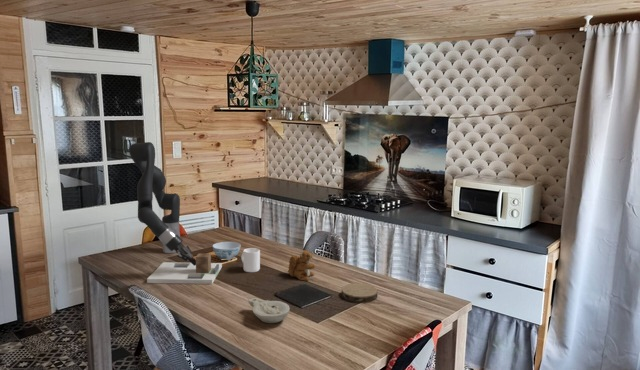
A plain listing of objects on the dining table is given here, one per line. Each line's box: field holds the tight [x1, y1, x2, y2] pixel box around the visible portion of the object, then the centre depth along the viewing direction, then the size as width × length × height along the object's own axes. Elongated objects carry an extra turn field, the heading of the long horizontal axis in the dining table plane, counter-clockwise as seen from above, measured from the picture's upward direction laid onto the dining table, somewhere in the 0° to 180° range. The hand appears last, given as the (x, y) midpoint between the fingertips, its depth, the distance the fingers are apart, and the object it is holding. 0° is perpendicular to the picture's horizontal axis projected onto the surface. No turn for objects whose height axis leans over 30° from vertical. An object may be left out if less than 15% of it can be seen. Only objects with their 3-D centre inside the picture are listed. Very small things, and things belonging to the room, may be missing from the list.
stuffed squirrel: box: [287, 249, 316, 282], centre depth 234 cm, size 10×14×13 cm
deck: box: [146, 261, 223, 285], centre depth 234 cm, size 30×25×4 cm
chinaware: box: [212, 241, 242, 261], centre depth 259 cm, size 15×15×8 cm
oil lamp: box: [248, 297, 290, 324], centre depth 187 cm, size 21×14×5 cm
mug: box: [240, 247, 261, 273], centre depth 244 cm, size 12×8×10 cm
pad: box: [201, 268, 220, 279], centre depth 234 cm, size 7×9×2 cm
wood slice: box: [341, 282, 379, 304], centre depth 212 cm, size 16×16×3 cm
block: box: [195, 253, 212, 273], centre depth 233 cm, size 6×6×8 cm
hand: (196, 264), depth 233 cm, fingers closed
